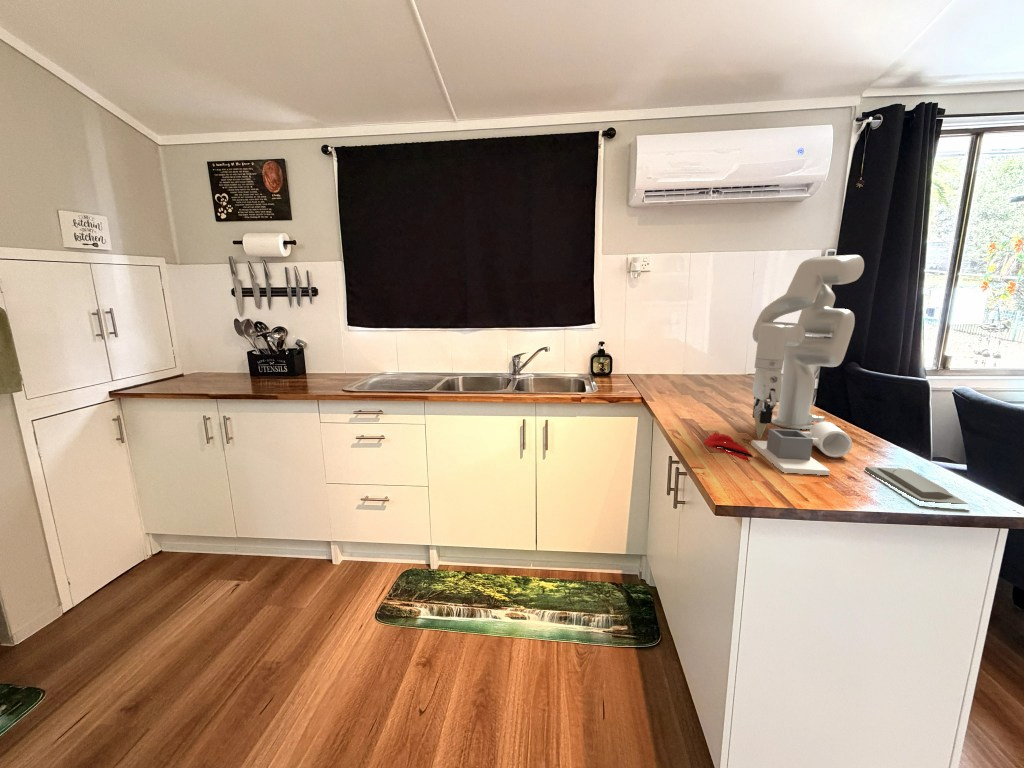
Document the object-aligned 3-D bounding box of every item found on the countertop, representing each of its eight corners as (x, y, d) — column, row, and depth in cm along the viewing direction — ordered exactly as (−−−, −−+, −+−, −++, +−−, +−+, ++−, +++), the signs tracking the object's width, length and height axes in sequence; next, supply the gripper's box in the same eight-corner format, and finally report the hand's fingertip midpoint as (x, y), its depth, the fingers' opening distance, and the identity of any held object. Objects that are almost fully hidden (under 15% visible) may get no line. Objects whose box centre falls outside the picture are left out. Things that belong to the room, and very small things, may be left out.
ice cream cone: (746, 436, 144) (752, 392, 141) (761, 436, 144) (767, 391, 141) (756, 442, 139) (762, 395, 136) (771, 441, 139) (777, 395, 136)
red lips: (697, 432, 150) (698, 426, 150) (742, 436, 146) (743, 430, 146) (708, 460, 126) (708, 452, 125) (762, 465, 122) (763, 457, 121)
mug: (836, 447, 135) (840, 422, 133) (850, 459, 126) (854, 432, 124) (791, 443, 138) (795, 418, 137) (801, 454, 129) (805, 428, 127)
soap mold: (907, 476, 115) (910, 463, 115) (970, 513, 96) (973, 498, 95) (863, 473, 117) (865, 460, 116) (916, 508, 98) (919, 494, 97)
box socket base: (789, 446, 135) (792, 423, 133) (829, 476, 114) (833, 448, 112) (751, 444, 136) (754, 421, 135) (783, 473, 115) (787, 445, 114)
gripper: (794, 369, 128) (786, 429, 132) (770, 360, 144) (763, 414, 148) (767, 368, 129) (759, 428, 133) (745, 359, 145) (739, 413, 149)
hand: (761, 420), depth 140 cm, fingers closed on ice cream cone, 5 cm apart
